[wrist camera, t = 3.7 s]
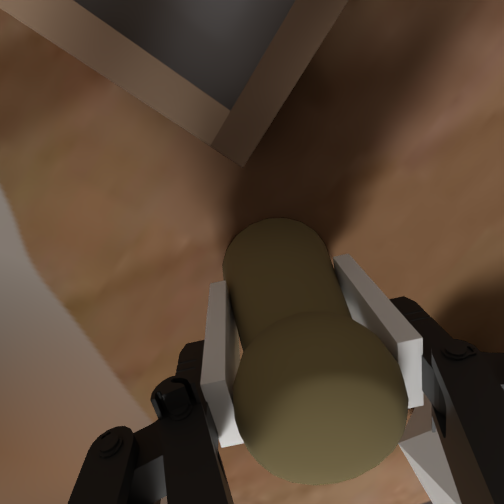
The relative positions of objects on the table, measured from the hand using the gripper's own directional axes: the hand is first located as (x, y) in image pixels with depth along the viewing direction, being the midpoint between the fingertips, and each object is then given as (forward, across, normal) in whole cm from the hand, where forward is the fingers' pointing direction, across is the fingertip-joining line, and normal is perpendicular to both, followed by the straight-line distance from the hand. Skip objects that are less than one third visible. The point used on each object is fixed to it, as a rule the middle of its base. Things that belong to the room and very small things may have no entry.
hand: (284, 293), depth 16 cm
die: (+3, -10, +13) cm, 16 cm away
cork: (+3, 0, 0) cm, 3 cm away
